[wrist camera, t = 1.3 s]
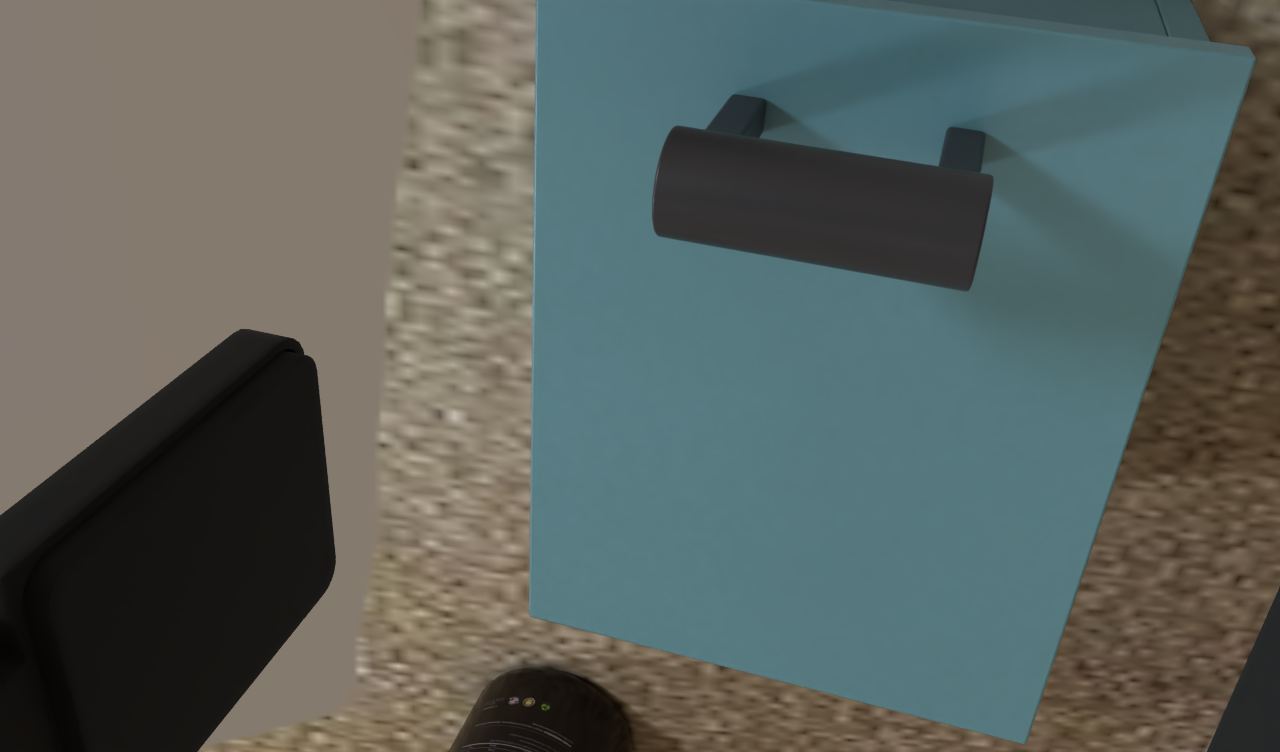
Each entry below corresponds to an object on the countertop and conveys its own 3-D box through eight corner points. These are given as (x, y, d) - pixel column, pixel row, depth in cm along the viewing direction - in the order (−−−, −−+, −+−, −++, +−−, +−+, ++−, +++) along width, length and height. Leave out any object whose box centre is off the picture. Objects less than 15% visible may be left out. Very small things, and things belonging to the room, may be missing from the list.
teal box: (679, -84, 31) (550, -2, 23) (1181, -25, 28) (1235, 91, 20) (644, 408, 39) (540, 596, 31) (1030, 490, 36) (1026, 719, 28)
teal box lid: (550, -44, 22) (421, 26, 18) (1251, 45, 20) (1313, 155, 15) (539, 597, 31) (450, 756, 26) (1026, 721, 28) (1022, 923, 24)
